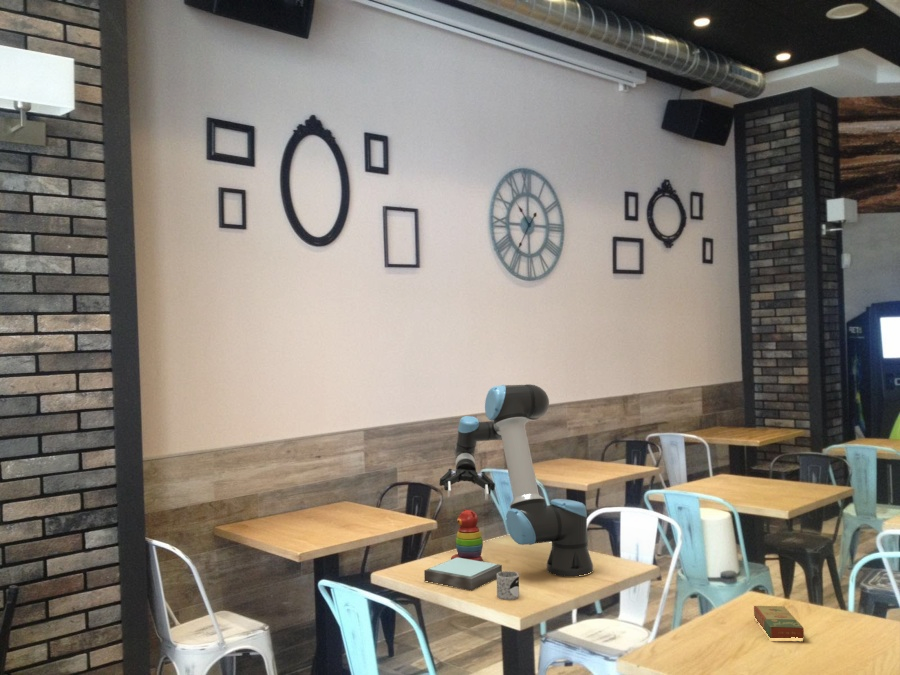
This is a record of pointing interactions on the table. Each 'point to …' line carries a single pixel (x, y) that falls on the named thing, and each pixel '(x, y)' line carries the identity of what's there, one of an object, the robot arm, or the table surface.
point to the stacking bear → (468, 537)
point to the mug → (507, 585)
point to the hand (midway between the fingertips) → (468, 495)
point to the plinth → (463, 573)
